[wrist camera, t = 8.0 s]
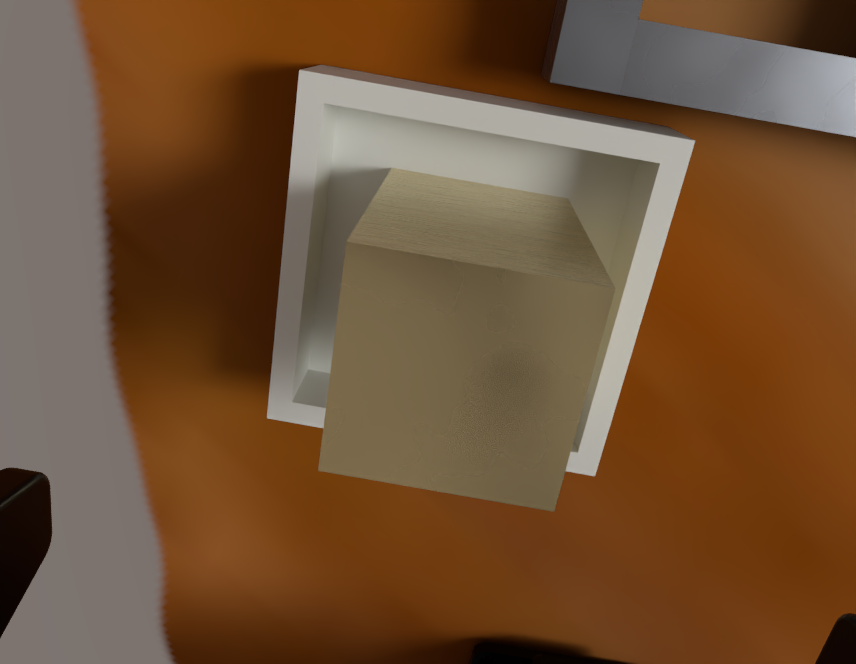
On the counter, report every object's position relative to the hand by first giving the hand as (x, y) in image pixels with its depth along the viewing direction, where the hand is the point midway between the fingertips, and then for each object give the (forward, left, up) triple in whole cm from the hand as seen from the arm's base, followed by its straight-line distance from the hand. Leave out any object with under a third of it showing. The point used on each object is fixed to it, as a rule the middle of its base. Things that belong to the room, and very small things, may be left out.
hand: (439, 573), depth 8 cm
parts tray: (0, 0, -13) cm, 13 cm away
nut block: (0, 0, -12) cm, 12 cm away
